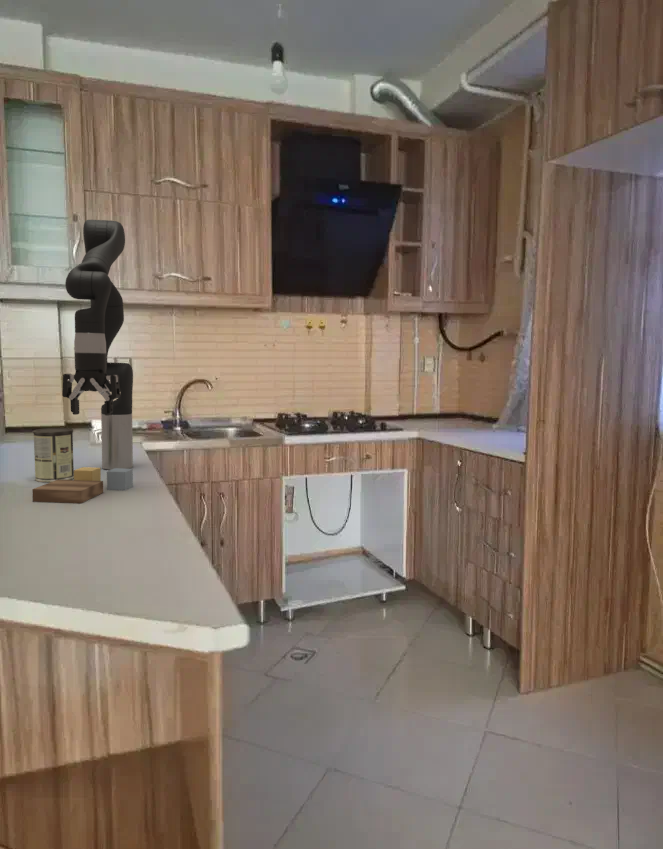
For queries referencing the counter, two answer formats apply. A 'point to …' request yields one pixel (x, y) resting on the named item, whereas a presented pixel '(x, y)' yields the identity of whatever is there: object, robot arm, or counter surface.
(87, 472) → the ochre block
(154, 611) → the counter surface
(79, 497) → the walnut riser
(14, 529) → the counter surface
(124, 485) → the slate block
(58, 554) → the counter surface
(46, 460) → the coffee can
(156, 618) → the counter surface
